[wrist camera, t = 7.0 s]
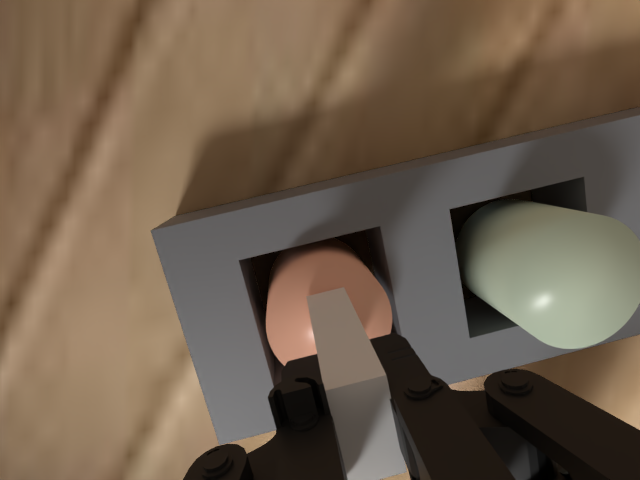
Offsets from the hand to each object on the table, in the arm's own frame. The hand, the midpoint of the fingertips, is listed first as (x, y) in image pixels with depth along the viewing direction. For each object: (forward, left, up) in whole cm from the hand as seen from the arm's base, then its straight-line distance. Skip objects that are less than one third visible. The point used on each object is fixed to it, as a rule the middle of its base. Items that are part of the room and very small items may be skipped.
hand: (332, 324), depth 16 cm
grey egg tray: (+9, 0, -6) cm, 11 cm away
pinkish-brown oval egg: (0, 0, -5) cm, 5 cm away
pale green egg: (+9, 0, -3) cm, 10 cm away
